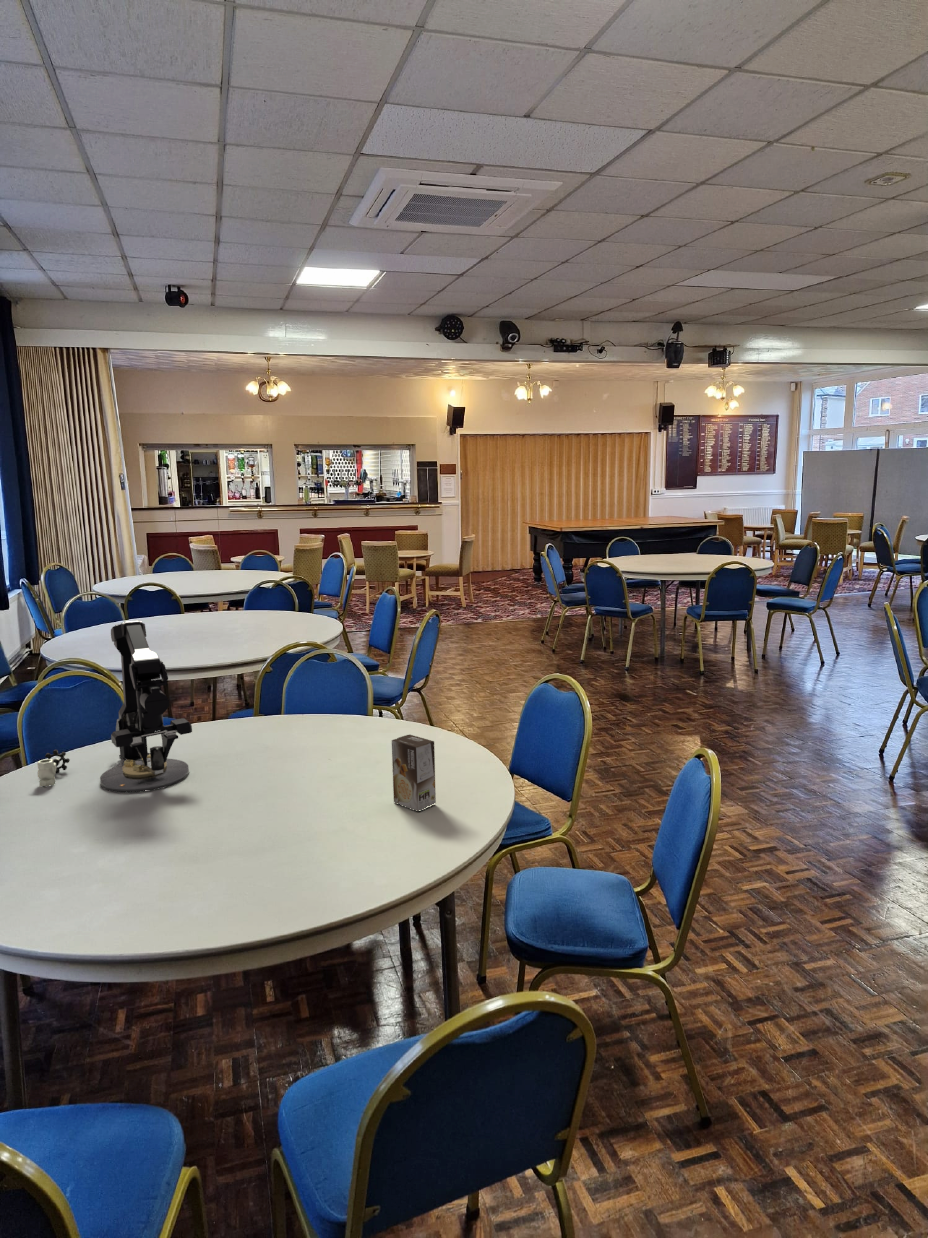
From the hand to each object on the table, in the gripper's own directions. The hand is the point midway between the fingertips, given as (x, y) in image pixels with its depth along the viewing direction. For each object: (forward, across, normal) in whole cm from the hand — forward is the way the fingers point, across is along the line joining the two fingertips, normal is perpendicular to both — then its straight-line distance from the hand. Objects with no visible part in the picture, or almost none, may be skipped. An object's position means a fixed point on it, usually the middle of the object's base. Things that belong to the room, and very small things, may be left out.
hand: (155, 764), depth 203 cm
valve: (+6, +21, -23) cm, 32 cm away
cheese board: (+4, 0, -6) cm, 7 cm away
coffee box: (+7, -46, +52) cm, 70 cm away
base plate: (+6, +1, -9) cm, 11 cm away
